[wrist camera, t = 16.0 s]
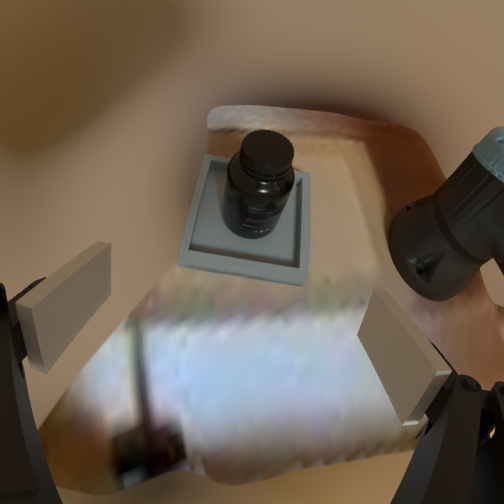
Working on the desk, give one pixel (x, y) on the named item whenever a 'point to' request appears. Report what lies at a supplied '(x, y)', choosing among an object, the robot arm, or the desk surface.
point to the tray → (240, 249)
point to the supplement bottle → (258, 184)
